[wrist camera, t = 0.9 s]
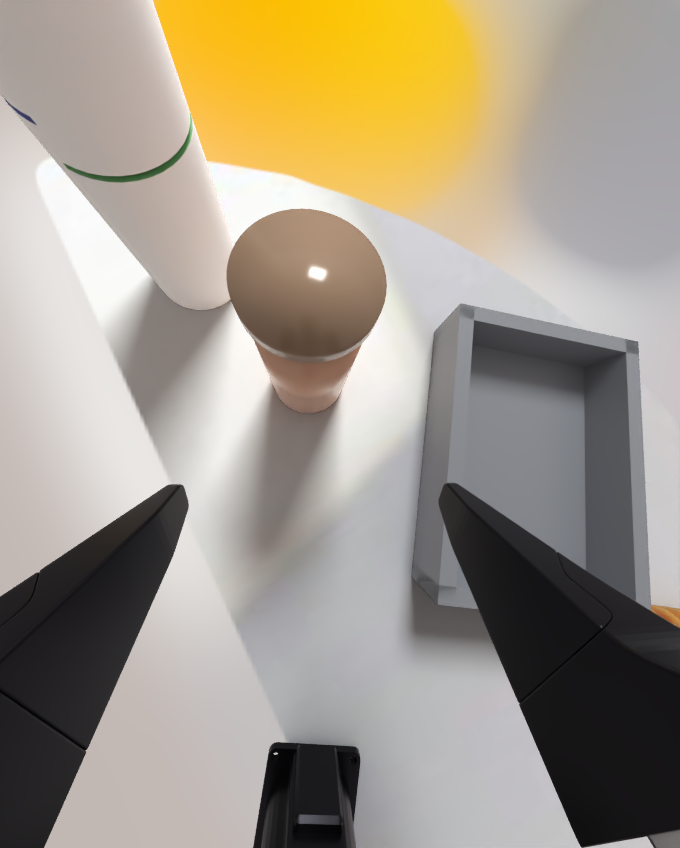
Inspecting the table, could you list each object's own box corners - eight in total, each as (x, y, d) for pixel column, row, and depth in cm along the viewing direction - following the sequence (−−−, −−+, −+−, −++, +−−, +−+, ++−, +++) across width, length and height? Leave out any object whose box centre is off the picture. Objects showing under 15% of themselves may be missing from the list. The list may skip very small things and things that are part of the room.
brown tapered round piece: (339, 421, 23) (376, 366, 11) (265, 409, 23) (209, 335, 10) (349, 353, 24) (394, 228, 12) (279, 339, 24) (245, 192, 11)
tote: (587, 597, 23) (652, 627, 19) (411, 577, 22) (437, 604, 18) (584, 362, 27) (638, 341, 23) (434, 331, 26) (460, 303, 21)
